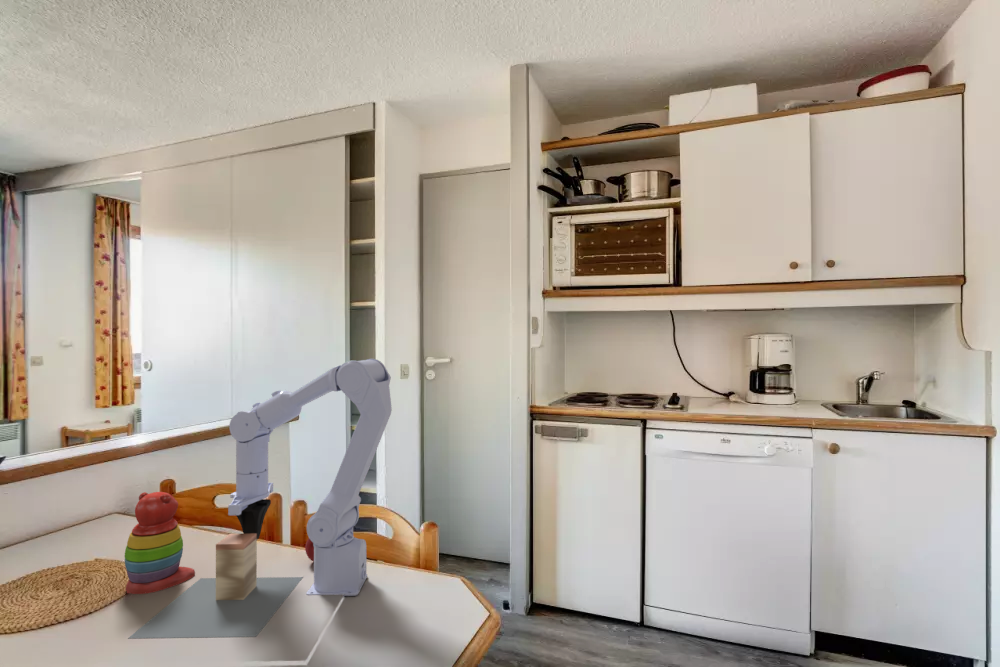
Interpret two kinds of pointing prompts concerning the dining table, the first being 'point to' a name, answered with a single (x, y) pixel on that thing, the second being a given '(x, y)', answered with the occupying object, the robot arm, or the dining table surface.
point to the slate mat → (218, 611)
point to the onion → (310, 549)
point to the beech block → (236, 566)
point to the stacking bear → (155, 546)
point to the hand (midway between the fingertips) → (252, 539)
